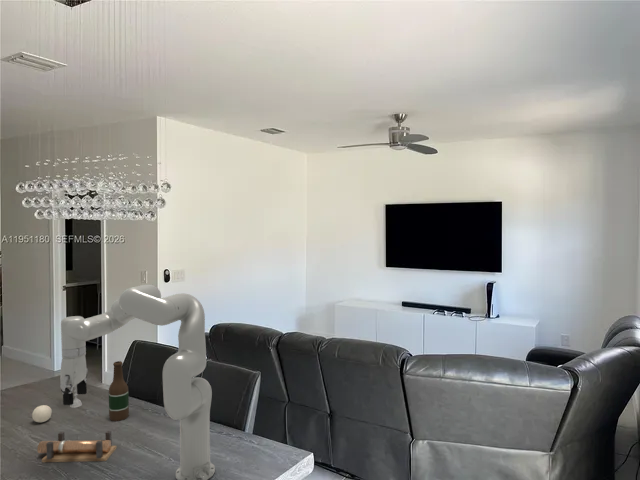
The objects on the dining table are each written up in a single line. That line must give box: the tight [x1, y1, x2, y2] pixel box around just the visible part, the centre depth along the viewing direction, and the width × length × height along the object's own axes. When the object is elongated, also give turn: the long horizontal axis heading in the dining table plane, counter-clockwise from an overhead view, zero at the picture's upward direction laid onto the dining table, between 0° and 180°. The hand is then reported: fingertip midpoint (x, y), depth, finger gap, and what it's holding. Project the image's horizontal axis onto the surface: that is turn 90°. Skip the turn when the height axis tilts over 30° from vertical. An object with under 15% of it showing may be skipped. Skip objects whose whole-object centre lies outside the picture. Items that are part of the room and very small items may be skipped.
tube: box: [36, 439, 111, 454], centre depth 165 cm, size 24×4×4 cm, turn 92°
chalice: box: [69, 385, 83, 408], centre depth 209 cm, size 7×7×18 cm
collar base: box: [41, 430, 117, 463], centre depth 165 cm, size 22×9×6 cm, turn 92°
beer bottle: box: [108, 360, 130, 422], centre depth 195 cm, size 8×8×24 cm
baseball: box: [31, 404, 53, 423], centre depth 192 cm, size 7×7×7 cm
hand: (75, 399), depth 164 cm, fingers open, 9 cm apart
